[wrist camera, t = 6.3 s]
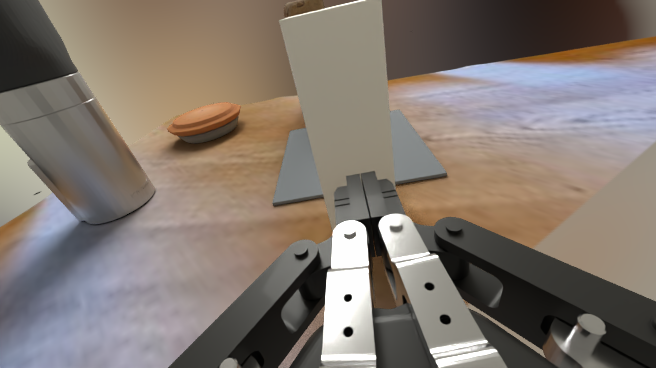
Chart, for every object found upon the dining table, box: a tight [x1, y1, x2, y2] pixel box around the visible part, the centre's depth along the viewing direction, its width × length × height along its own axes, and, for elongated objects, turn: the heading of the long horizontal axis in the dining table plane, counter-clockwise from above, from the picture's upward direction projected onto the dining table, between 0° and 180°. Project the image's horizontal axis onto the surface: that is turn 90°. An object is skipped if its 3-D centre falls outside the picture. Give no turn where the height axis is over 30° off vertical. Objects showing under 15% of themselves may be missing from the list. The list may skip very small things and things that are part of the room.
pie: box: [167, 102, 241, 143], centre depth 59 cm, size 16×16×5 cm
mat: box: [273, 110, 447, 206], centre depth 40 cm, size 20×22×1 cm
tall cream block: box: [279, 0, 396, 232], centre depth 23 cm, size 6×6×18 cm
